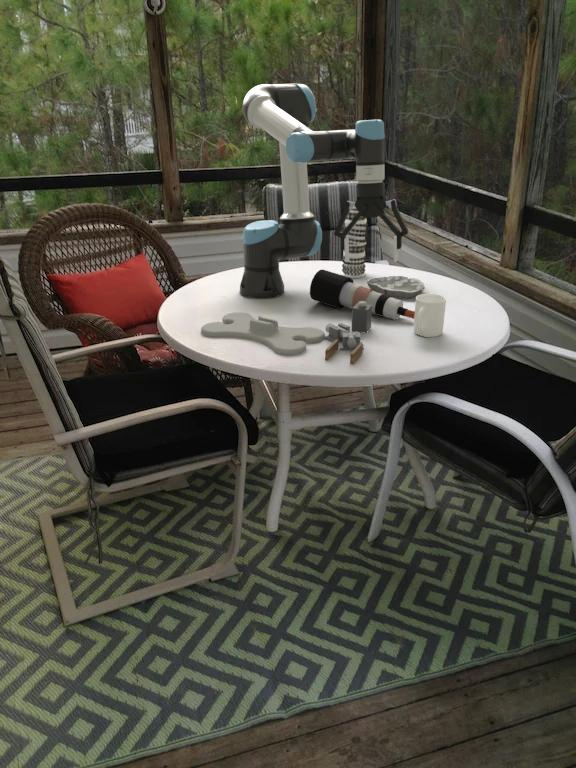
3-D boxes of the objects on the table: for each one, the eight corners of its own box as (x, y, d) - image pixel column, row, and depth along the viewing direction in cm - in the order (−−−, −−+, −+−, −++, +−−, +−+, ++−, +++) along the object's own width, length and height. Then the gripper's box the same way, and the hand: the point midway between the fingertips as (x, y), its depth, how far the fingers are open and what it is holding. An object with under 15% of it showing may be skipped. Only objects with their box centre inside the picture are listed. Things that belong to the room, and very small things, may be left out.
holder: (294, 359, 173) (294, 341, 171) (195, 334, 190) (193, 318, 187) (330, 336, 187) (330, 320, 185) (234, 315, 204) (234, 300, 202)
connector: (351, 330, 190) (352, 303, 187) (356, 325, 194) (357, 299, 190) (366, 333, 188) (367, 305, 185) (371, 327, 192) (372, 301, 189)
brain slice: (435, 290, 225) (435, 282, 223) (410, 303, 213) (411, 294, 211) (385, 280, 236) (385, 272, 234) (359, 292, 224) (359, 283, 223)
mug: (429, 344, 180) (432, 308, 176) (402, 337, 185) (404, 302, 180) (447, 331, 189) (450, 296, 185) (420, 325, 194) (423, 291, 189)
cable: (407, 338, 197) (405, 315, 189) (312, 306, 213) (307, 283, 205) (423, 315, 201) (421, 291, 193) (329, 286, 217) (324, 263, 209)
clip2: (338, 343, 181) (339, 331, 180) (361, 343, 181) (362, 330, 180) (339, 350, 177) (340, 338, 175) (363, 350, 176) (364, 338, 175)
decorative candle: (367, 271, 245) (370, 203, 234) (364, 278, 237) (367, 208, 226) (343, 270, 247) (345, 202, 236) (339, 277, 239) (341, 207, 228)
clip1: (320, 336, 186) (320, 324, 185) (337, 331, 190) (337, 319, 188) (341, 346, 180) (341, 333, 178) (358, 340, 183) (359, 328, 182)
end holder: (325, 359, 171) (325, 349, 170) (335, 349, 178) (335, 339, 176) (353, 364, 168) (353, 354, 167) (362, 353, 175) (363, 343, 174)
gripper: (321, 184, 176) (324, 263, 183) (416, 181, 169) (415, 263, 177) (327, 182, 183) (330, 259, 190) (418, 179, 176) (417, 258, 183)
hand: (371, 261), depth 183 cm, fingers open, 13 cm apart
